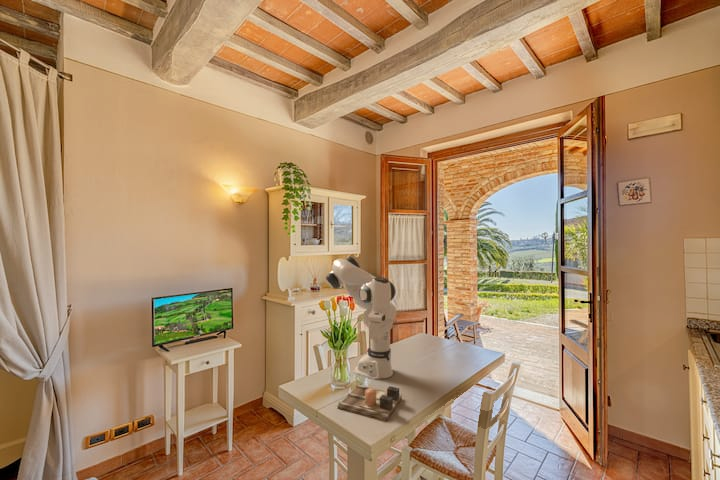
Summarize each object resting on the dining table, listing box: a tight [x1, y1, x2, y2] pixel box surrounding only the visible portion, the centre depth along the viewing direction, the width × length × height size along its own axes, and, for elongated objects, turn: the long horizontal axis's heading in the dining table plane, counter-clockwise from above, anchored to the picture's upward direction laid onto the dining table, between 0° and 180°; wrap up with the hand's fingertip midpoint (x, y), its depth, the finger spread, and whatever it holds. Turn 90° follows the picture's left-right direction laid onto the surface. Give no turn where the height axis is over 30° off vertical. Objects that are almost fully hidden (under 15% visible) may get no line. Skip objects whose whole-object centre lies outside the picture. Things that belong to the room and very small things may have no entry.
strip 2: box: [376, 385, 401, 405], centre depth 147 cm, size 14×7×6 cm, turn 64°
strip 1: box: [360, 395, 394, 416], centre depth 139 cm, size 14×7×6 cm, turn 64°
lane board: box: [337, 384, 403, 422], centre depth 145 cm, size 24×20×2 cm
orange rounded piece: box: [365, 387, 376, 407], centre depth 140 cm, size 5×5×6 cm
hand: (381, 343), depth 142 cm, fingers open, 8 cm apart
